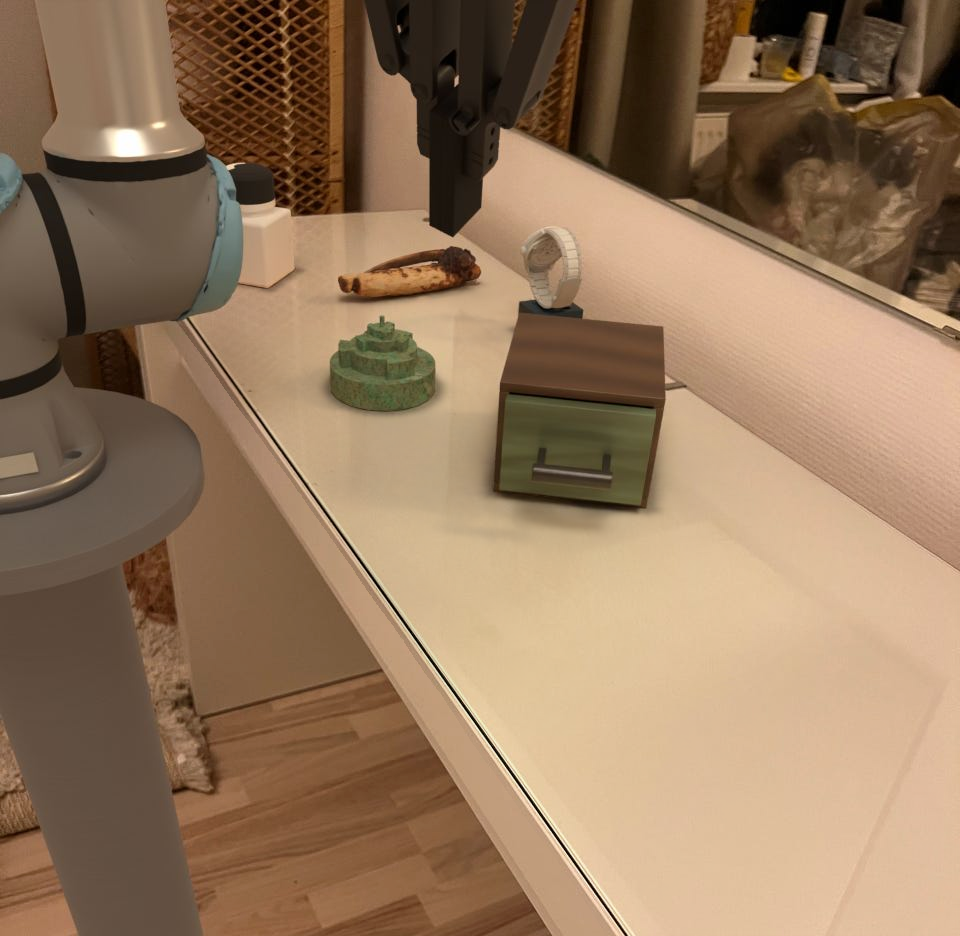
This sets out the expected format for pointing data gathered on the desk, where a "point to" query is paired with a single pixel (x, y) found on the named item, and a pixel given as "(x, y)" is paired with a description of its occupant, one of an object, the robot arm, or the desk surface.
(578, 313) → the watch
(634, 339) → the cabinet
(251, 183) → the medicine bottle
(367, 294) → the lashed bone hook
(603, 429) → the drawer
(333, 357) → the decorative artifact
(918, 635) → the desk surface
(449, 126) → the robot arm
